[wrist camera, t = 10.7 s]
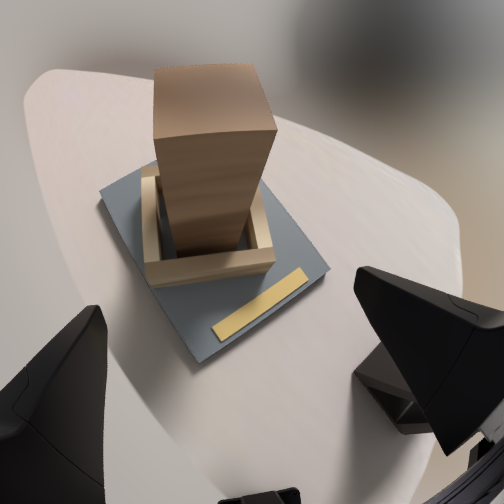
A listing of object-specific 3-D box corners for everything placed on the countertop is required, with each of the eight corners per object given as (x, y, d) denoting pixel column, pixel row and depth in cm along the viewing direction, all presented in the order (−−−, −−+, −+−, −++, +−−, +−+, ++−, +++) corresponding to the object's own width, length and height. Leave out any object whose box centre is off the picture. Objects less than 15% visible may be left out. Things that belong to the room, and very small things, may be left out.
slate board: (325, 272, 24) (331, 268, 23) (199, 362, 20) (198, 363, 19) (220, 137, 27) (221, 129, 25) (102, 196, 23) (98, 189, 21)
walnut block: (235, 250, 22) (277, 129, 10) (177, 258, 21) (153, 139, 9) (226, 199, 23) (252, 64, 11) (171, 206, 22) (154, 69, 10)
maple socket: (266, 273, 22) (276, 261, 19) (153, 288, 20) (145, 278, 17) (246, 177, 24) (252, 156, 21) (147, 187, 22) (141, 166, 20)
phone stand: (351, 370, 21) (463, 370, 10) (394, 323, 23) (501, 293, 12) (401, 434, 20) (502, 455, 9) (437, 388, 22) (536, 384, 11)
